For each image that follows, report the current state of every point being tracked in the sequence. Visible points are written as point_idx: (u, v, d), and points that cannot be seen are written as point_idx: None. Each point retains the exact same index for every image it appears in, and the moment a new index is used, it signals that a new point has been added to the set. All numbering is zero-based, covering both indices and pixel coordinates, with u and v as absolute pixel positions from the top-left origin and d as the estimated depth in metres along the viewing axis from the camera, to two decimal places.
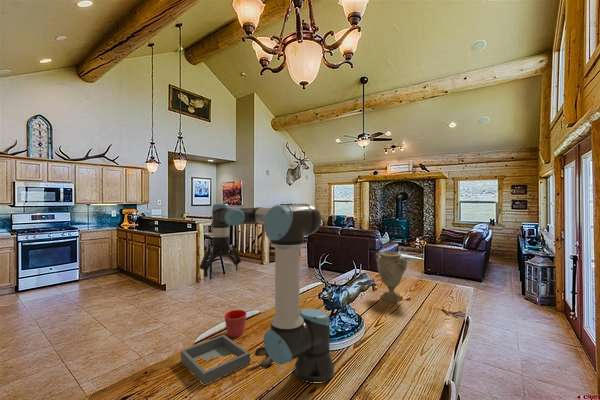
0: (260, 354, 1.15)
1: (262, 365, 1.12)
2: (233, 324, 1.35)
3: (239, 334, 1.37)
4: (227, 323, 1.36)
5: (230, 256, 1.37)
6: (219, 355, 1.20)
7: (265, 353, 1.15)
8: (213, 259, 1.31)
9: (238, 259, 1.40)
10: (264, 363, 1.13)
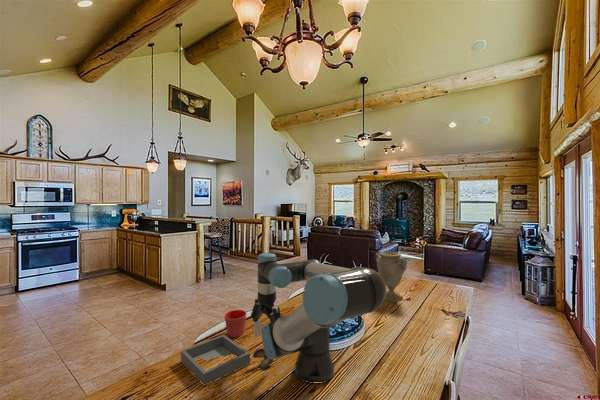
0: (258, 356, 1.13)
1: (260, 367, 1.11)
2: (233, 324, 1.35)
3: (239, 334, 1.37)
4: (227, 323, 1.36)
5: (270, 320, 1.13)
6: (219, 355, 1.20)
7: (263, 355, 1.14)
8: (258, 313, 1.19)
9: None
10: (262, 365, 1.11)
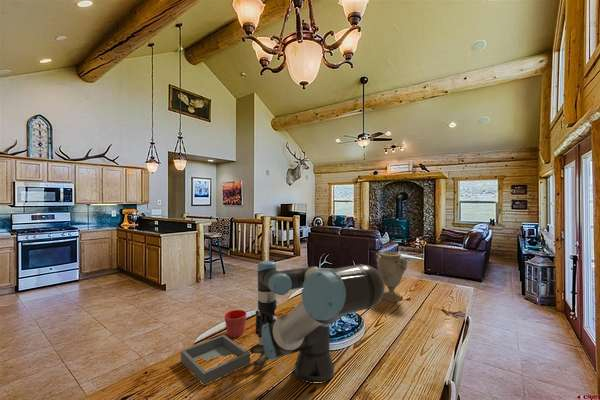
0: (255, 351, 1.12)
1: (257, 363, 1.10)
2: (233, 324, 1.35)
3: (239, 334, 1.37)
4: (227, 323, 1.36)
5: None
6: (219, 355, 1.20)
7: (261, 351, 1.13)
8: (261, 325, 1.17)
9: None
10: (259, 361, 1.10)
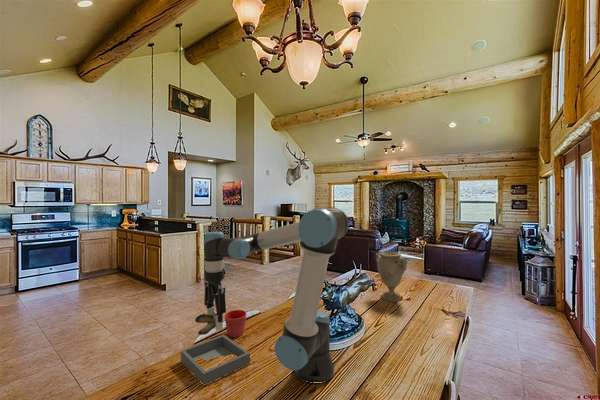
0: (201, 321, 1.12)
1: (201, 332, 1.10)
2: (233, 324, 1.35)
3: (239, 334, 1.37)
4: (227, 323, 1.36)
5: (215, 299, 1.12)
6: (219, 355, 1.20)
7: (206, 320, 1.12)
8: (208, 296, 1.16)
9: (219, 309, 1.10)
10: (203, 330, 1.10)
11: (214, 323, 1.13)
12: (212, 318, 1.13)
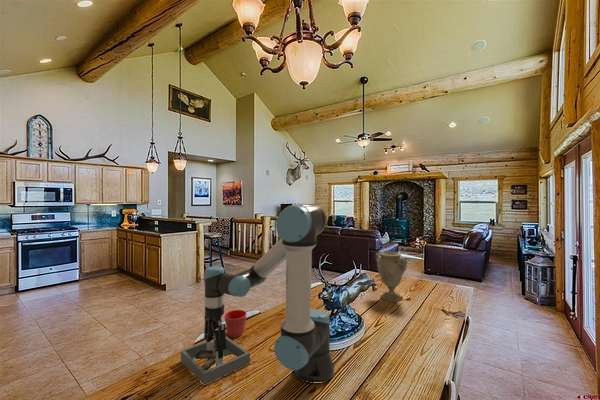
0: (201, 357, 1.12)
1: None
2: (233, 324, 1.35)
3: (239, 334, 1.37)
4: (227, 323, 1.36)
5: (215, 335, 1.12)
6: None
7: (206, 356, 1.12)
8: (208, 330, 1.17)
9: (219, 345, 1.10)
10: (203, 366, 1.10)
11: (214, 358, 1.13)
12: (212, 353, 1.14)
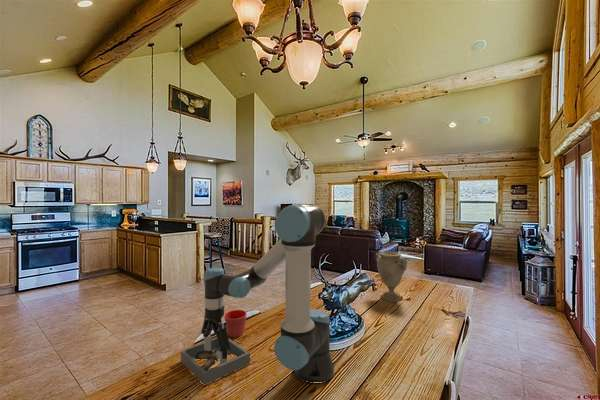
0: (200, 357, 1.12)
1: None
2: (233, 324, 1.35)
3: (239, 334, 1.37)
4: (227, 323, 1.36)
5: (217, 336, 1.11)
6: None
7: (206, 356, 1.12)
8: (207, 329, 1.17)
9: (222, 345, 1.08)
10: (203, 367, 1.10)
11: (213, 359, 1.13)
12: (211, 354, 1.13)
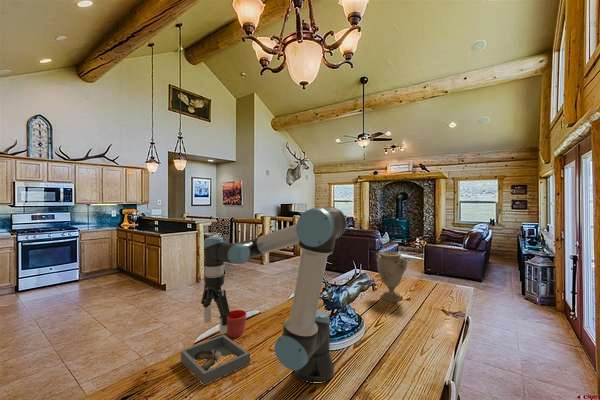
0: (200, 358, 1.11)
1: None
2: (233, 324, 1.35)
3: (239, 334, 1.37)
4: (227, 323, 1.36)
5: (217, 303, 1.11)
6: None
7: (205, 357, 1.12)
8: (207, 298, 1.17)
9: (222, 312, 1.08)
10: (202, 367, 1.09)
11: (213, 359, 1.12)
12: (211, 354, 1.13)
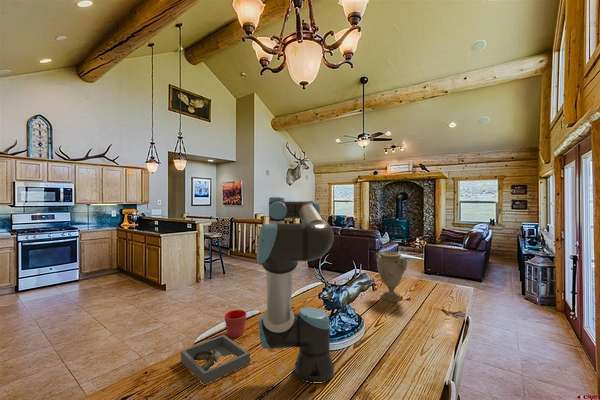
0: (199, 358, 1.11)
1: None
2: (233, 324, 1.35)
3: (239, 334, 1.37)
4: (227, 323, 1.36)
5: None
6: None
7: (205, 357, 1.11)
8: None
9: None
10: None
11: (213, 360, 1.12)
12: (210, 355, 1.13)
